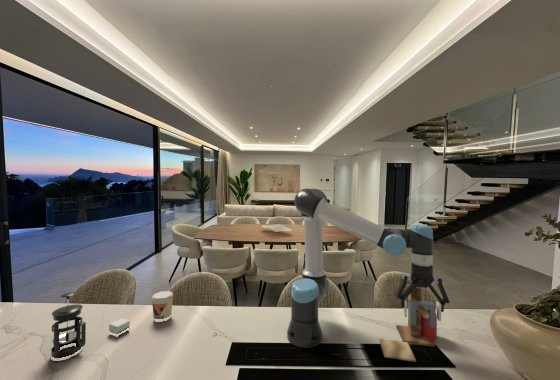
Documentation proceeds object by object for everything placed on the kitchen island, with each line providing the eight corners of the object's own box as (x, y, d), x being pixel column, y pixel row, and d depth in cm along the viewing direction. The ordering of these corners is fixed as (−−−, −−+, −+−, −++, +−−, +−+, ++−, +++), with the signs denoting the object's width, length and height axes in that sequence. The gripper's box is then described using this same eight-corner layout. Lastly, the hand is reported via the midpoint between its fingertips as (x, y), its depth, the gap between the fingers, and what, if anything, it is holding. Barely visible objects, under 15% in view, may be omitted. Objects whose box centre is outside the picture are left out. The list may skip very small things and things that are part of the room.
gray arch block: (410, 325, 98) (410, 302, 98) (408, 321, 101) (408, 299, 101) (435, 328, 96) (435, 305, 96) (432, 324, 99) (432, 301, 99)
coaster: (384, 357, 93) (384, 355, 93) (379, 340, 104) (379, 338, 104) (416, 361, 91) (416, 360, 91) (407, 343, 102) (407, 342, 102)
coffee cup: (147, 323, 116) (147, 297, 116) (160, 313, 125) (160, 290, 125) (165, 325, 114) (165, 299, 114) (176, 315, 123) (176, 291, 123)
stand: (408, 355, 95) (409, 298, 95) (396, 327, 114) (396, 280, 114) (443, 360, 92) (443, 301, 92) (424, 330, 111) (424, 282, 112)
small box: (117, 338, 104) (117, 326, 104) (108, 335, 106) (108, 324, 106) (130, 331, 109) (130, 320, 109) (121, 328, 111) (121, 317, 111)
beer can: (439, 342, 103) (439, 314, 103) (422, 339, 104) (422, 312, 104) (433, 333, 109) (433, 306, 109) (417, 331, 111) (417, 304, 111)
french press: (41, 362, 89) (42, 299, 89) (64, 345, 98) (64, 288, 98) (73, 362, 89) (74, 299, 89) (93, 346, 98) (93, 289, 98)
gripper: (392, 264, 97) (391, 318, 97) (460, 269, 92) (460, 326, 92) (388, 259, 105) (387, 309, 105) (451, 263, 99) (450, 316, 99)
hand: (421, 317), depth 98 cm, fingers open, 12 cm apart
